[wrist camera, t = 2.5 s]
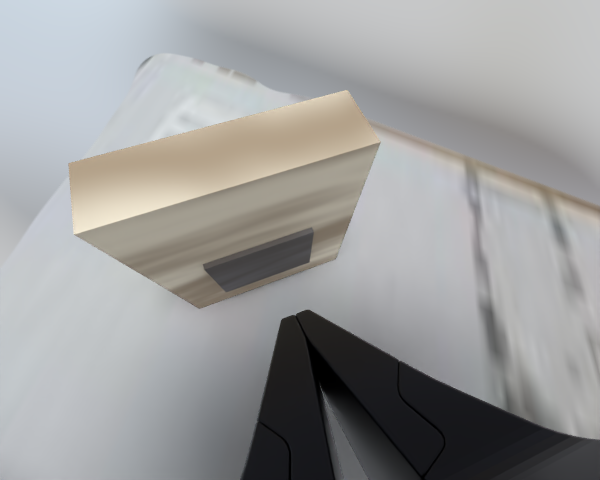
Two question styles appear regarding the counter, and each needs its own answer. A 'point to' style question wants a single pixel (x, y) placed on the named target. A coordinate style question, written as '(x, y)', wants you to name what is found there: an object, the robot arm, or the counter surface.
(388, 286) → the counter surface
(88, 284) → the counter surface
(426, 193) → the counter surface
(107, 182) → the birch slab
